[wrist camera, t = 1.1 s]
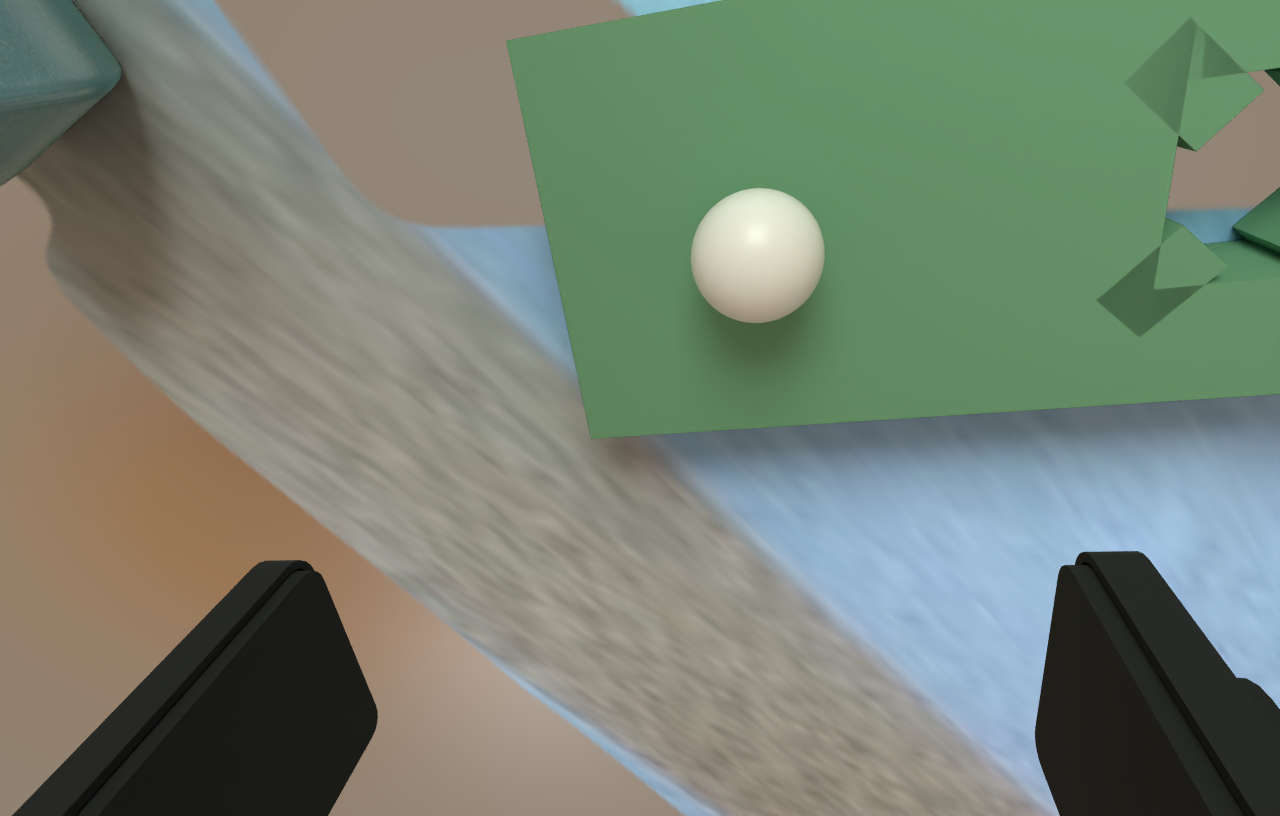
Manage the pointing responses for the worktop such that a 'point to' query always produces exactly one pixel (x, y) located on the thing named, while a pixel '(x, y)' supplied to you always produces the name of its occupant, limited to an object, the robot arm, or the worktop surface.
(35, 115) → the flower pot
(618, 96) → the putting mat
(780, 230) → the ball
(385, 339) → the worktop surface
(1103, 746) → the robot arm
